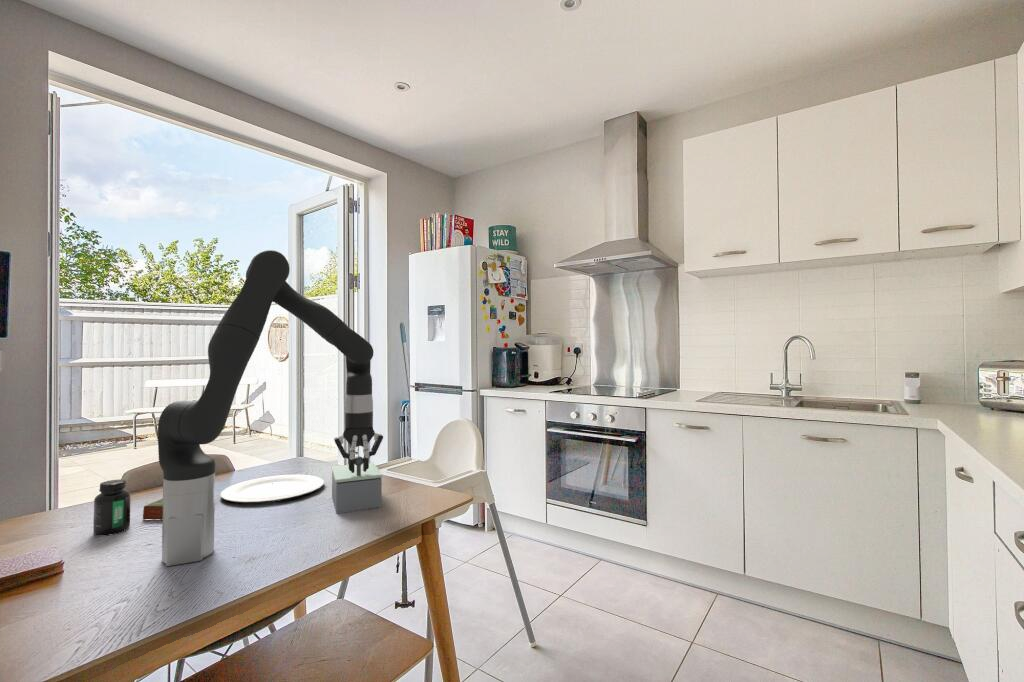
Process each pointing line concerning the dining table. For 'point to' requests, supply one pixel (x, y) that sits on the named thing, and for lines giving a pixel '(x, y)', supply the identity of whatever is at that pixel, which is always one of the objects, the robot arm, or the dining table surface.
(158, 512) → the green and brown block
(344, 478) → the lid
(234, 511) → the dining table surface
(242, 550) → the dining table surface
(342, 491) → the box
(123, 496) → the supplement bottle
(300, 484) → the plate
